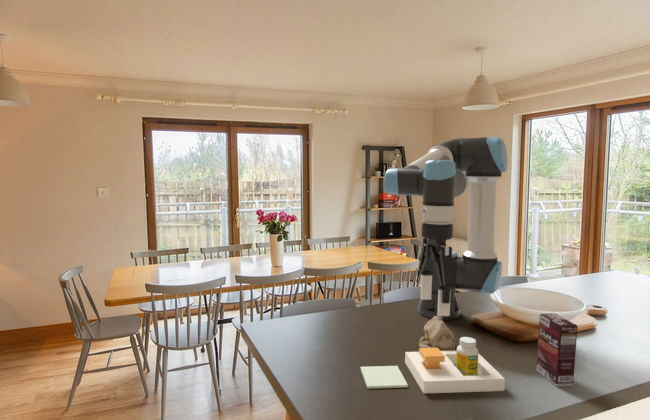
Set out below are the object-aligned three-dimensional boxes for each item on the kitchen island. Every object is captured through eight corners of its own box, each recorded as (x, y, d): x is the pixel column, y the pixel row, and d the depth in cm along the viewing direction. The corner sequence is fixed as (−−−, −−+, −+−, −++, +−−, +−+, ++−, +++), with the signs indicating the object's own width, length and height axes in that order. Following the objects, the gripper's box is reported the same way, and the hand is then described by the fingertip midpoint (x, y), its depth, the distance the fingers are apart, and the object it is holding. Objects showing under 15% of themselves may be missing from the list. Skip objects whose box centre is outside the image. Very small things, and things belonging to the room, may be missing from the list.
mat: (360, 368, 109) (360, 366, 109) (397, 367, 110) (397, 365, 110) (367, 388, 99) (367, 386, 99) (407, 387, 100) (407, 384, 100)
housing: (405, 362, 113) (405, 352, 113) (474, 360, 115) (475, 350, 114) (423, 393, 97) (424, 381, 97) (504, 390, 99) (505, 378, 99)
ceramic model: (414, 339, 129) (415, 308, 128) (449, 339, 129) (451, 309, 129) (426, 359, 115) (427, 325, 114) (465, 360, 115) (467, 325, 115)
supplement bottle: (464, 368, 110) (466, 334, 109) (481, 377, 106) (483, 341, 105) (451, 373, 107) (452, 338, 106) (468, 382, 103) (470, 345, 102)
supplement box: (535, 370, 109) (538, 313, 108) (552, 370, 110) (556, 312, 108) (555, 387, 101) (560, 325, 99) (574, 387, 101) (578, 324, 100)
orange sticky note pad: (418, 364, 108) (419, 348, 107) (437, 364, 108) (437, 347, 108) (424, 373, 103) (425, 356, 102) (444, 373, 103) (444, 356, 103)
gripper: (408, 217, 114) (406, 293, 115) (440, 229, 89) (436, 324, 91) (434, 217, 114) (431, 292, 116) (473, 229, 90) (469, 324, 92)
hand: (434, 306), depth 104 cm, fingers open, 12 cm apart
